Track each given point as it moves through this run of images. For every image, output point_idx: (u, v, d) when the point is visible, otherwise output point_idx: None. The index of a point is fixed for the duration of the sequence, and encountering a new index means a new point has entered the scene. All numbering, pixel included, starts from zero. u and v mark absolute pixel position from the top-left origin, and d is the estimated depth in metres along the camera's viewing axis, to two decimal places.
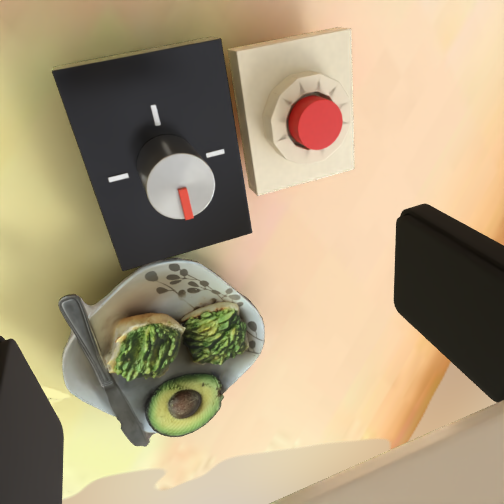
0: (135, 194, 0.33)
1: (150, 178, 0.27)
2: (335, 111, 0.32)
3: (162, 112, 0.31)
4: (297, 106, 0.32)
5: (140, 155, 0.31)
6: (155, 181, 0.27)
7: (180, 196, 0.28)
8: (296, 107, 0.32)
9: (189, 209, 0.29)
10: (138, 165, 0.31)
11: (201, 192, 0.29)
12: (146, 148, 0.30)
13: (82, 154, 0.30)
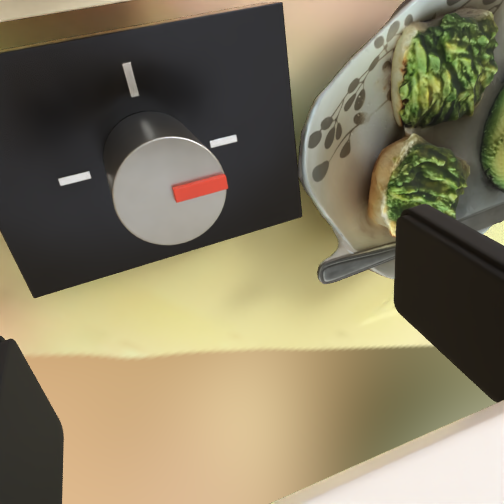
0: None
1: (156, 240, 0.18)
2: None
3: (69, 167, 0.20)
4: None
5: None
6: (161, 233, 0.18)
7: (186, 198, 0.17)
8: None
9: (210, 183, 0.17)
10: None
11: (181, 161, 0.17)
12: None
13: (138, 265, 0.24)
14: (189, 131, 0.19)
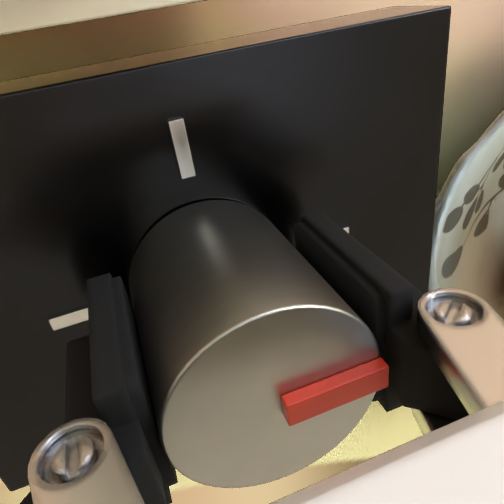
0: None
1: (239, 483, 0.09)
2: None
3: (68, 298, 0.11)
4: None
5: None
6: (249, 471, 0.09)
7: None
8: None
9: (357, 384, 0.08)
10: None
11: (306, 349, 0.08)
12: None
13: None
14: (293, 249, 0.10)
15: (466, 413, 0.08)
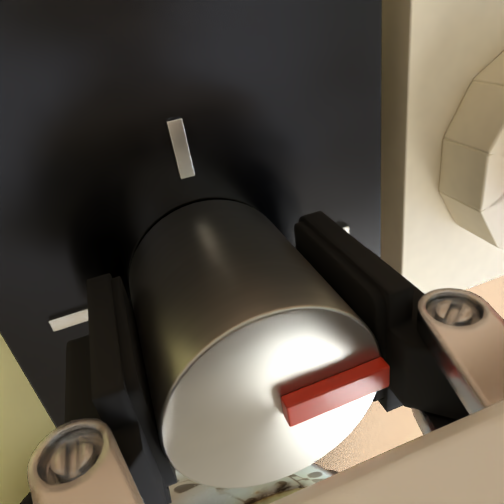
0: None
1: (241, 483, 0.09)
2: None
3: (201, 139, 0.11)
4: None
5: None
6: (250, 471, 0.09)
7: (309, 413, 0.08)
8: None
9: (358, 384, 0.08)
10: None
11: (305, 350, 0.08)
12: None
13: None
14: (293, 248, 0.10)
15: (466, 413, 0.08)
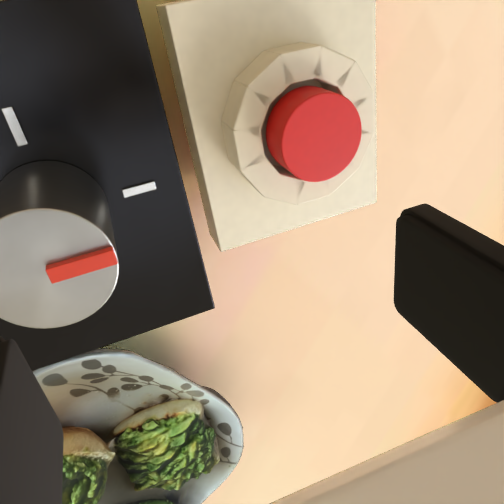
0: None
1: (34, 324, 0.15)
2: (349, 114, 0.18)
3: (29, 120, 0.16)
4: (281, 105, 0.18)
5: None
6: (39, 316, 0.15)
7: (65, 277, 0.14)
8: (279, 107, 0.18)
9: (92, 260, 0.14)
10: None
11: (54, 236, 0.14)
12: None
13: None
14: (82, 188, 0.16)
15: None
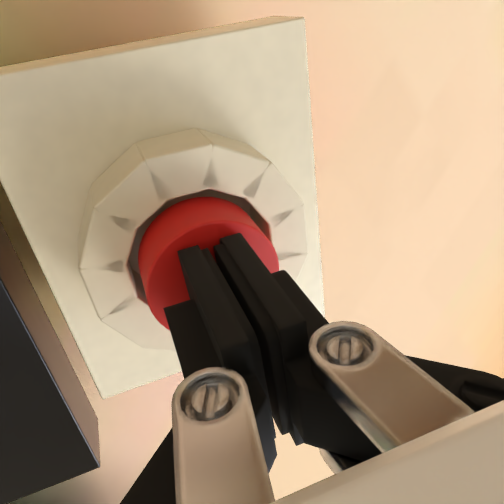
0: None
1: None
2: (256, 247, 0.11)
3: None
4: (153, 231, 0.12)
5: None
6: None
7: None
8: (150, 234, 0.12)
9: None
10: None
11: None
12: None
13: None
14: None
15: None
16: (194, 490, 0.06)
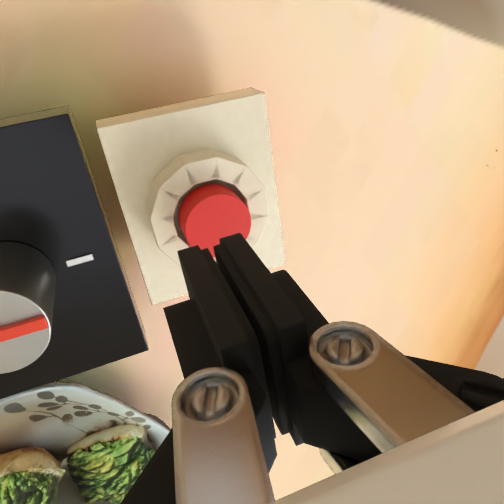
0: None
1: None
2: (239, 208, 0.23)
3: None
4: (187, 200, 0.23)
5: None
6: None
7: (8, 337, 0.19)
8: (186, 201, 0.23)
9: (29, 325, 0.19)
10: None
11: (0, 309, 0.19)
12: None
13: None
14: (28, 267, 0.21)
15: None
16: (194, 490, 0.06)
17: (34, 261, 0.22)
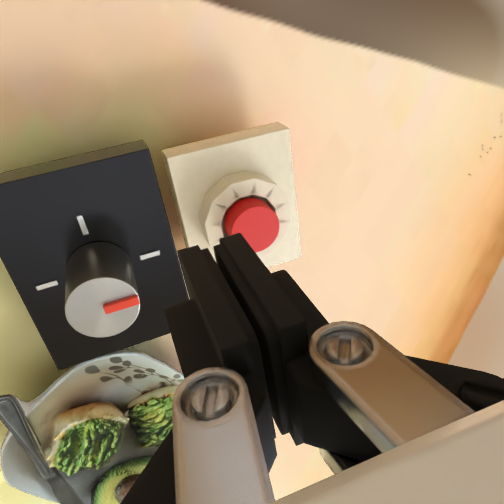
0: None
1: (95, 335, 0.28)
2: (271, 216, 0.31)
3: (90, 221, 0.30)
4: (232, 210, 0.31)
5: None
6: (97, 331, 0.28)
7: (112, 310, 0.27)
8: (231, 211, 0.31)
9: (127, 302, 0.27)
10: None
11: (108, 290, 0.27)
12: None
13: (6, 266, 0.29)
14: (120, 260, 0.29)
15: None
16: (194, 490, 0.06)
17: (121, 256, 0.30)
